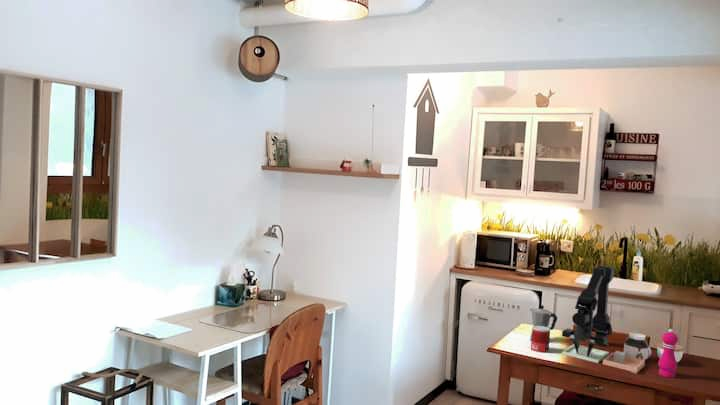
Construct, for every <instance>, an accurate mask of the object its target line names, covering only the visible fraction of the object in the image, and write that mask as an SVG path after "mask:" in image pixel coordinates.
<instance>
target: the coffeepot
mask: <svg viewBox="0 0 720 405" xmlns="http://www.w3.org/2000/svg"><path fill="white" fill-rule="evenodd" d="M544 307H545V306H544V305H540V308H531V309H530V311H531V313H532V314H531V318H532V324H533V326H544V327H547V328H549V329H550V331H551V330H552V331H553V330H554V328H555V325H556V323H557V321H558V317H557V314H556V313H553V312H552V311H549V310H547V309H544ZM551 318H553V319H552V323H551V325H550V320H551ZM549 325H550V326H551V327H549ZM531 338H532V332H531V333H530V337H529V341H531Z"/></svg>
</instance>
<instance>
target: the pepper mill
mask: <svg viewBox="0 0 720 405" xmlns="http://www.w3.org/2000/svg"><path fill="white" fill-rule="evenodd" d="M661 337H662V338H661V340H662V342H664V343H663V347H664V351H663V354H662V356H661V357H660V358H659V360H658V362H657V364H658V367H659V369H658V374H659V375H660V376H662V377H665V378H675V377H676V376H675V375H676V372H675V371H676V369H678V362H676V359H675V355H674V350H675V348H676V345H675V344H678V342H679V338H678V336H677V334H676V333H674V330H673V329H672V328H669V329H668V331H667V332H664V333H663V334H662V336H661Z"/></svg>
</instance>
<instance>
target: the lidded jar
mask: <svg viewBox="0 0 720 405" xmlns="http://www.w3.org/2000/svg"><path fill="white" fill-rule="evenodd" d="M663 343H664V341H659V342H657V345H656V346H657V350H656V351H657V356H658V358H659V359H660V357H661V356H662V354H663V351H664V347H663ZM675 345H676V348H675V350H674V355H675V359H676V362H677V363H678V362H680V361H681V359H682V357H683V353H684V350H685V349H684V346H682V345H681V344H678V343H676V344H675Z"/></svg>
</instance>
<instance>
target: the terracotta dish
mask: <svg viewBox="0 0 720 405" xmlns="http://www.w3.org/2000/svg"><path fill="white" fill-rule="evenodd" d="M613 359H614V352H611V353H609V355H608V356H606V357H605V358H604V359H603V360H602V365H603V366H604V365H605V366H608V367H613V368H616V369H617V368H618V369H621V370H626V371H628V372H629V373H631V374H635V375H637V374H638V373H639V372H641V370H642V369H643V368H644V367H645V363H646V360H641V359H637V358H633V357H628V356H626V358H625V362H624V363H623V364H621V363H617V362H613Z"/></svg>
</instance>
